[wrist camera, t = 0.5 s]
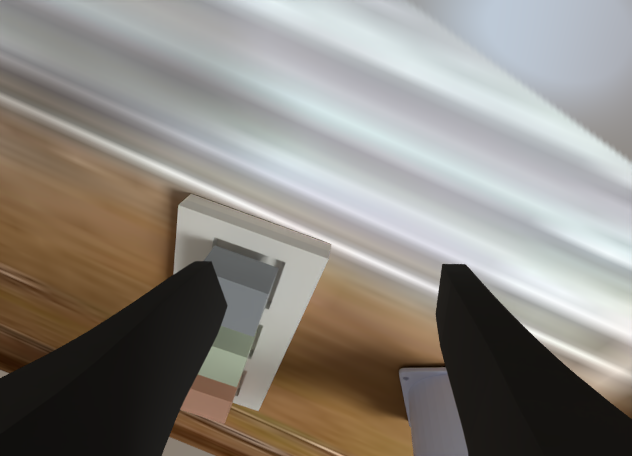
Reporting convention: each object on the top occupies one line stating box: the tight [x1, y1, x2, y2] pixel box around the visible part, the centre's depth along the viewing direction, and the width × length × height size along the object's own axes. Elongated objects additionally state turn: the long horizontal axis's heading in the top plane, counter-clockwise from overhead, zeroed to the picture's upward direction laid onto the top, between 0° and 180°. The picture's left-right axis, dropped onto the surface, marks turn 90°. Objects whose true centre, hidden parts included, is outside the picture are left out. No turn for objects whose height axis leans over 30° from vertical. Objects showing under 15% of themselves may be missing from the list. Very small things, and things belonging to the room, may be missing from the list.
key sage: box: [198, 326, 257, 387], centre depth 24 cm, size 4×4×2 cm
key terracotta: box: [180, 375, 242, 424], centre depth 28 cm, size 4×4×2 cm
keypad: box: [173, 194, 331, 411], centre depth 26 cm, size 22×10×2 cm, turn 162°
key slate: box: [204, 246, 279, 337], centre depth 20 cm, size 4×4×2 cm
